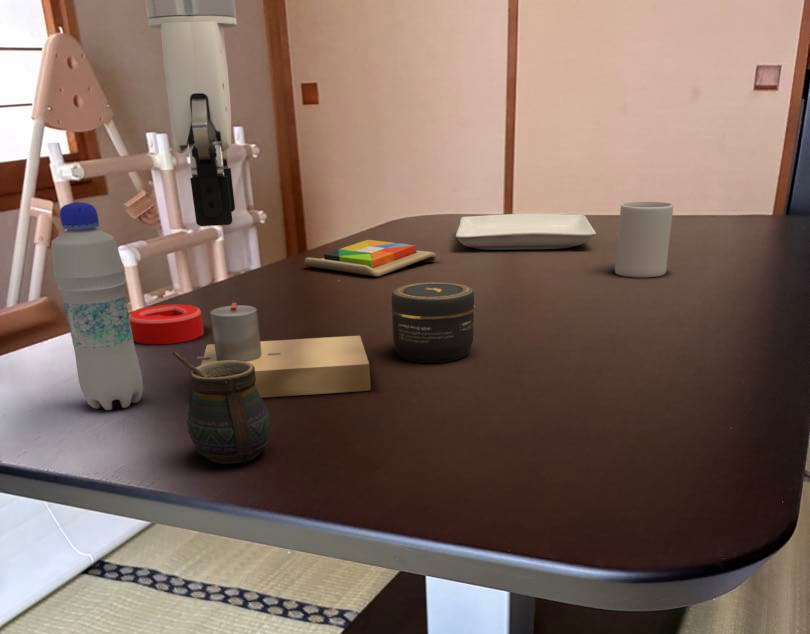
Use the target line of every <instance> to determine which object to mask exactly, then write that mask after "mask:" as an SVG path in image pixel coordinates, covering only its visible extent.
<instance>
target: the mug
mask: <svg viewBox="0 0 810 634" xmlns="http://www.w3.org/2000/svg"><path fill="white" fill-rule="evenodd" d="M619 210H620V211H619V222H618V233H617V245H616V256H615V264H614V273H615V274H616V275H618V276H621V277H627V278H637V279H638V278H640V279H641V278H642V279H643V278H644V279H645V278H646V279H647V278H648V279H649V278H657V277H662V276H664V275H666V273H667V268H668V258H669V257H668V256H669V247H670V241H671V240H670V238H671V229H672V222H673V214H674V204H672V203H671V202H664V201H663V202H662V201H631V202H625V203H622V204H621V205H620V209H619Z"/></svg>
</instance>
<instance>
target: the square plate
mask: <svg viewBox="0 0 810 634" xmlns="http://www.w3.org/2000/svg"><path fill="white" fill-rule="evenodd" d="M596 234H597V233H596V230H595V229H594V228H593V227H592V225H591V223H590V221H589V220H588V218H587V217H586V215H584V214H567V213H564V214H563V213H506V214H490V215H489V214H488V215H469V216H461V217H460V221H459V225H458V228H457V231H456V234H455V238H456V239H457V240H458V242H459V243H460V244H462V245H463V246H465V247H467V248H473V249H476V250H483V251H484V250H485V251H496V250H497V251H504V250H505V251H508V250H510V251H511V250H514V251H515V250H561V249H570V248H574V247H577V246H578V247H579V246H582V245H584V244H586V243H588V241H589V240H591V238H592V237H594V236H595V235H596Z"/></svg>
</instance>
